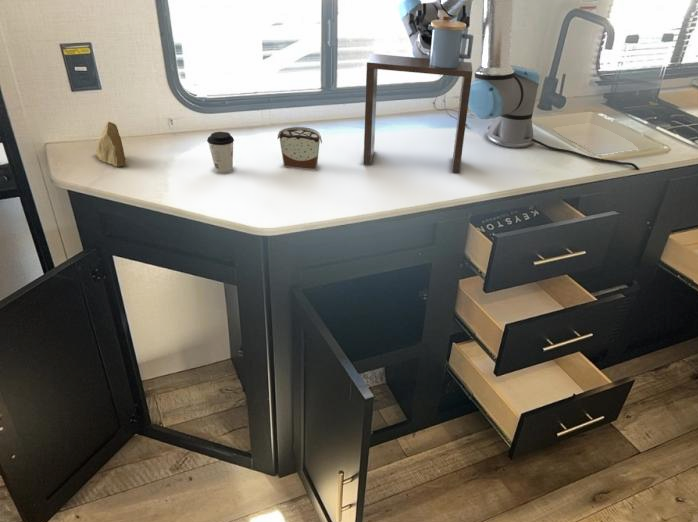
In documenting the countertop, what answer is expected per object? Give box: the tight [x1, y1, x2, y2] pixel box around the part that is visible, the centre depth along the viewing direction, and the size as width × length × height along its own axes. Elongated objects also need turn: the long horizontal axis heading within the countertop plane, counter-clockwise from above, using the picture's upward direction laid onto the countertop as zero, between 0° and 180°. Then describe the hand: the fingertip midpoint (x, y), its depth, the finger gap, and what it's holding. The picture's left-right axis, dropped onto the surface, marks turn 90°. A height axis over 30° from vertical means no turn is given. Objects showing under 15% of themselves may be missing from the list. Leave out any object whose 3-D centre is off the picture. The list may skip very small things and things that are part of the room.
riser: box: [363, 53, 473, 174], centre depth 171 cm, size 28×10×28 cm, turn 86°
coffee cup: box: [206, 131, 235, 175], centre depth 162 cm, size 7×7×10 cm
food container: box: [276, 126, 323, 171], centre depth 169 cm, size 12×6×10 cm, turn 84°
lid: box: [431, 10, 467, 31], centre depth 160 cm, size 9×19×2 cm, turn 6°
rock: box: [95, 121, 126, 168], centre depth 163 cm, size 11×9×10 cm
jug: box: [428, 25, 474, 68], centre depth 160 cm, size 12×8×10 cm, turn 86°
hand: (444, 9), depth 161 cm, fingers open, 10 cm apart
